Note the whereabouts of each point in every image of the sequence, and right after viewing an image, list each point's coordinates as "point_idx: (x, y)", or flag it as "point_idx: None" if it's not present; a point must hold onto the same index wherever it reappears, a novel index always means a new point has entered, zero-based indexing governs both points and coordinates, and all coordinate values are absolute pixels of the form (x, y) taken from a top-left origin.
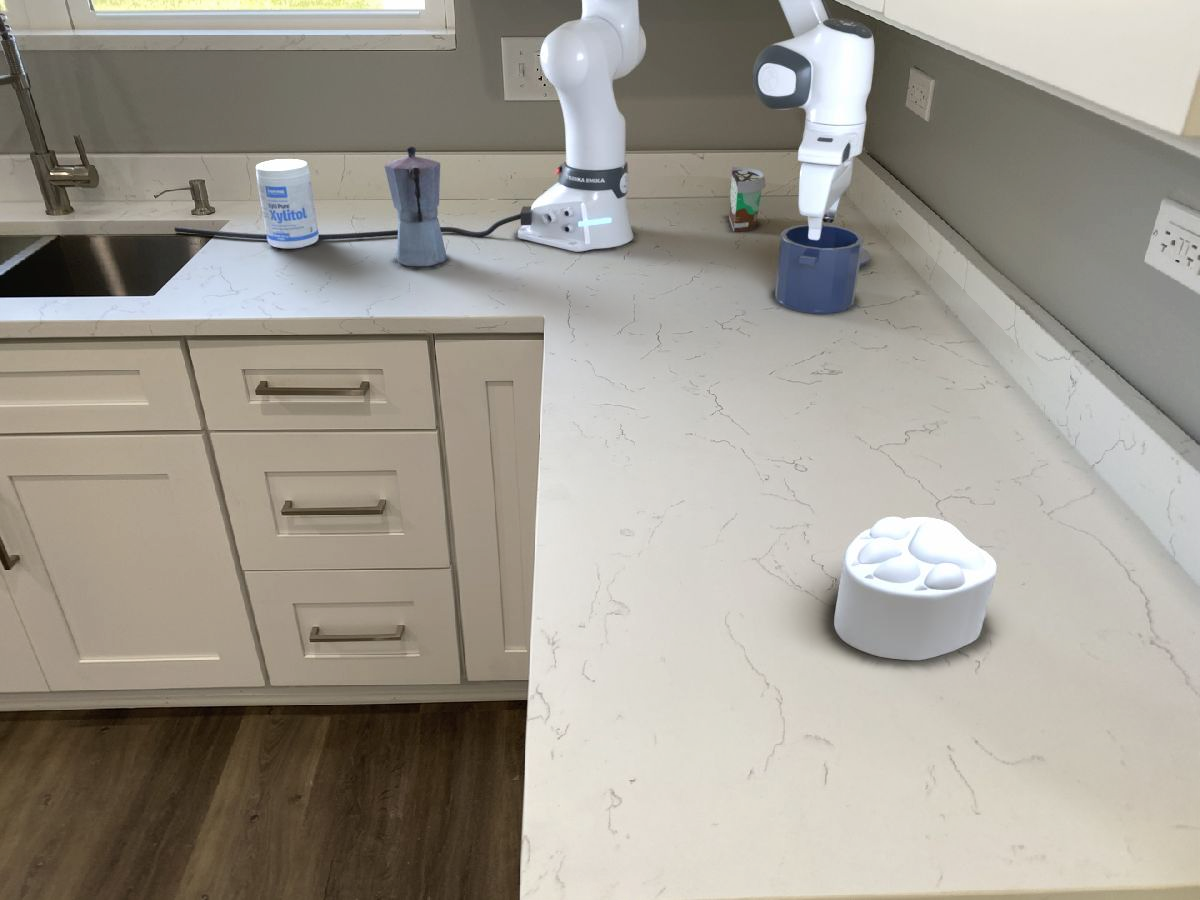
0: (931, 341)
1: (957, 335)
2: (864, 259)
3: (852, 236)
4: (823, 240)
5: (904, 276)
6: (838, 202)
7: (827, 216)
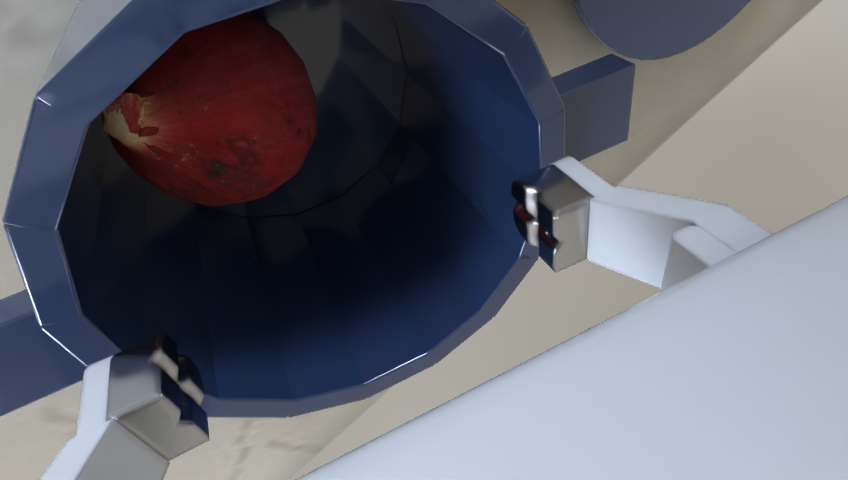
0: (252, 431)
1: (325, 426)
2: (669, 45)
3: (483, 283)
4: (491, 102)
5: (605, 172)
6: (649, 282)
7: (538, 215)
